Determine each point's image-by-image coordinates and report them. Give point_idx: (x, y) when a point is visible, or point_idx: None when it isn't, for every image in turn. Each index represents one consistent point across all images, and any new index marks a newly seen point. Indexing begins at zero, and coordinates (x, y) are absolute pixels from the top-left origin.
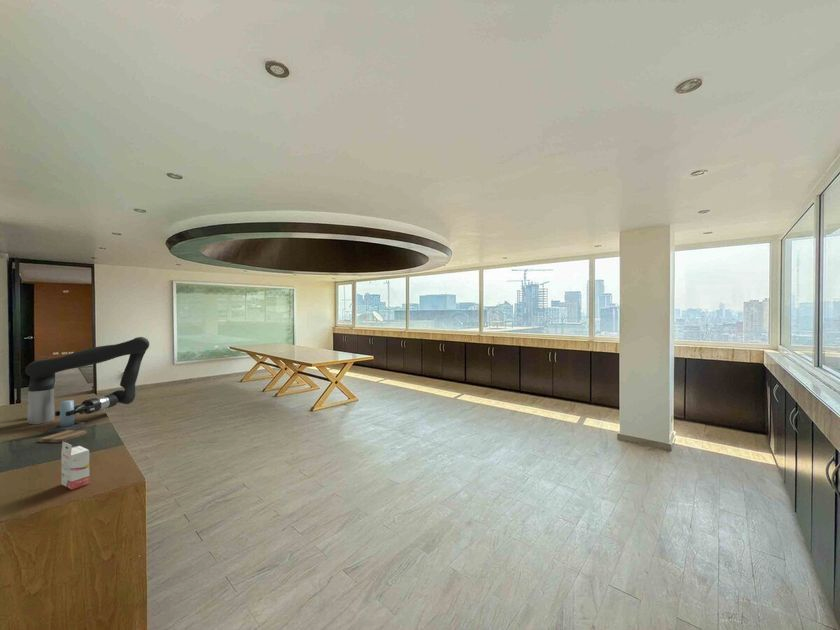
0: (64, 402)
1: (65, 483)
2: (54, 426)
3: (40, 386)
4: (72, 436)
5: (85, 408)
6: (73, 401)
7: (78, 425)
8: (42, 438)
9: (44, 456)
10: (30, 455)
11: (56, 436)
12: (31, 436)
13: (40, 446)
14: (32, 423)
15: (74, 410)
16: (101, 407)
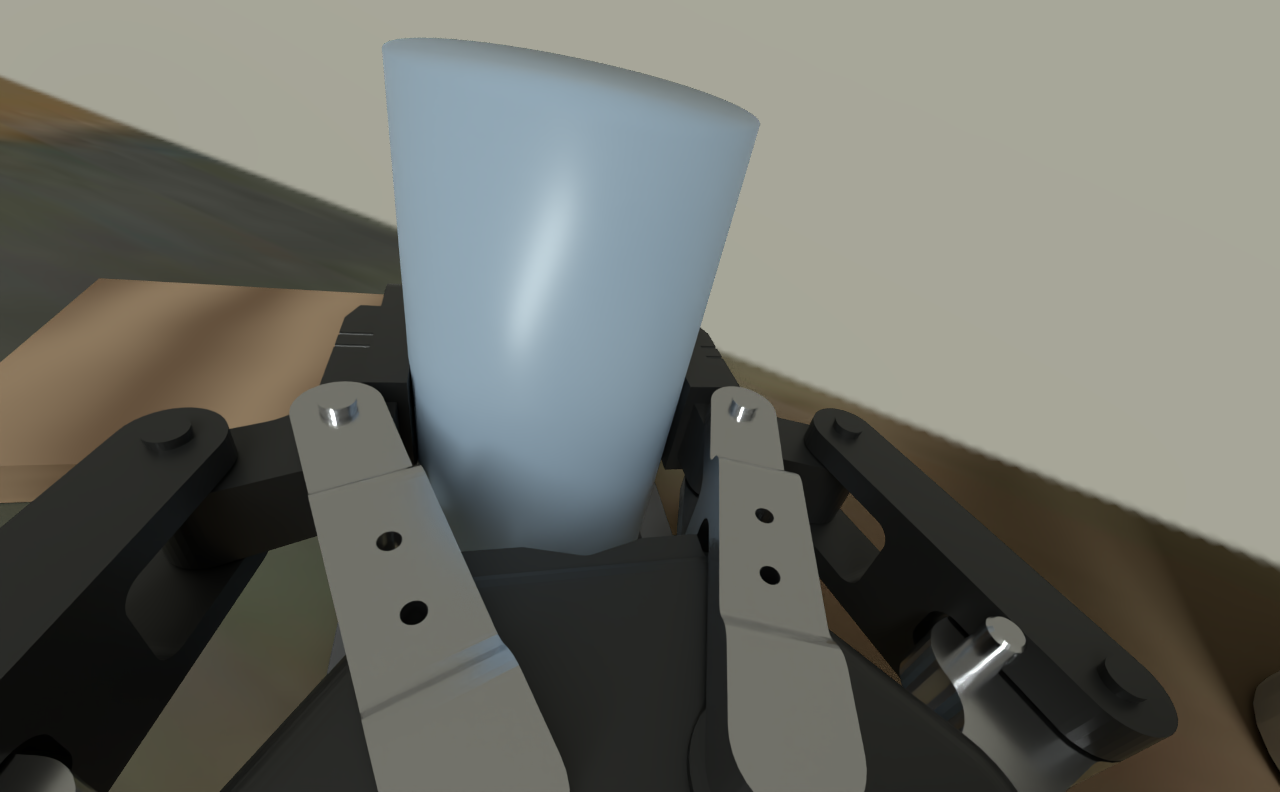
0: (498, 45)
1: None
2: (659, 513)
3: None
4: (37, 345)
5: (15, 520)
6: (401, 94)
7: (332, 664)
8: (356, 296)
9: (45, 181)
10: (183, 198)
11: (249, 323)
12: None
13: (267, 271)
14: (1278, 673)
15: (362, 384)
16: None
